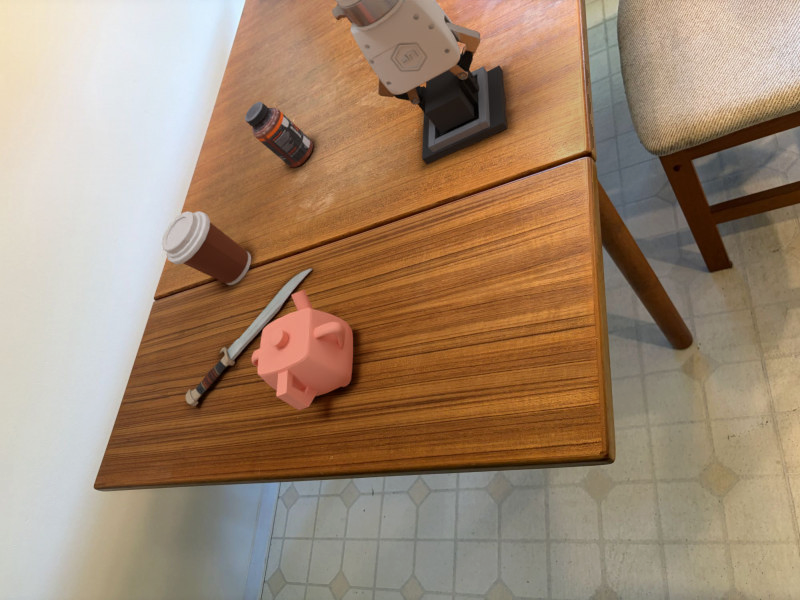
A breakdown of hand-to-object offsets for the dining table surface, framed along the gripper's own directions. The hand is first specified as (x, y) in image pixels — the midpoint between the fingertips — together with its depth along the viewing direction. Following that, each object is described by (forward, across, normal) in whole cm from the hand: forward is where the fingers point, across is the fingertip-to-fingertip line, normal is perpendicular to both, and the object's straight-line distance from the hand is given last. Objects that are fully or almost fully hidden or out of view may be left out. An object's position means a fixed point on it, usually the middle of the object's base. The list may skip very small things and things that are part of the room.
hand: (455, 105), depth 74 cm
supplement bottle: (+3, -32, +10) cm, 34 cm away
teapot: (+3, -19, -32) cm, 37 cm away
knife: (+3, -36, -24) cm, 43 cm away
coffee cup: (+3, -43, -10) cm, 44 cm away
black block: (0, 0, 0) cm, 0 cm away
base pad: (+3, 0, 0) cm, 3 cm away
